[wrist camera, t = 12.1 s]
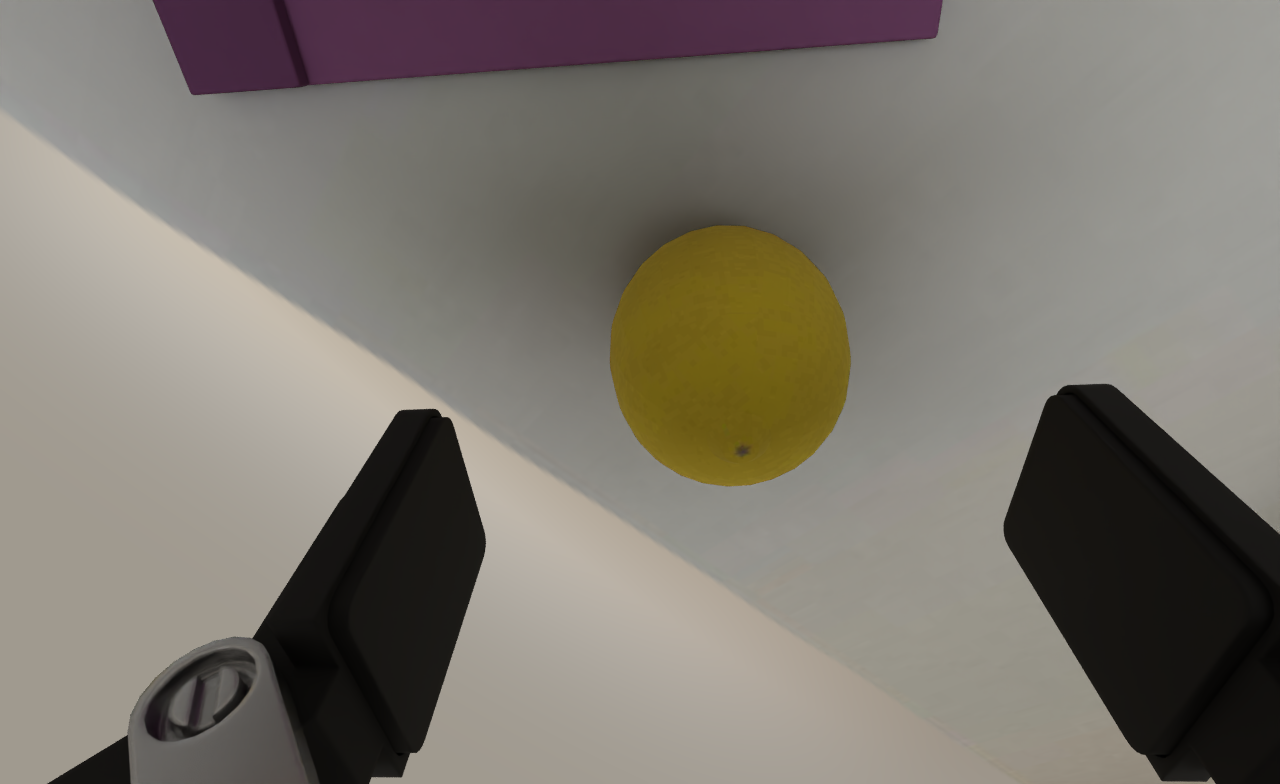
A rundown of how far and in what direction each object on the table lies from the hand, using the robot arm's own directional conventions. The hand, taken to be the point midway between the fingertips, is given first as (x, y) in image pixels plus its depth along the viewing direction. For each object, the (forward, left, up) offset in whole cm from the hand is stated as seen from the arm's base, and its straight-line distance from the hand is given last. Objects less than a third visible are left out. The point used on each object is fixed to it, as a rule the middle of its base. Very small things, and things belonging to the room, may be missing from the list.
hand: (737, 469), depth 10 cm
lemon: (+1, 0, -9) cm, 9 cm away
